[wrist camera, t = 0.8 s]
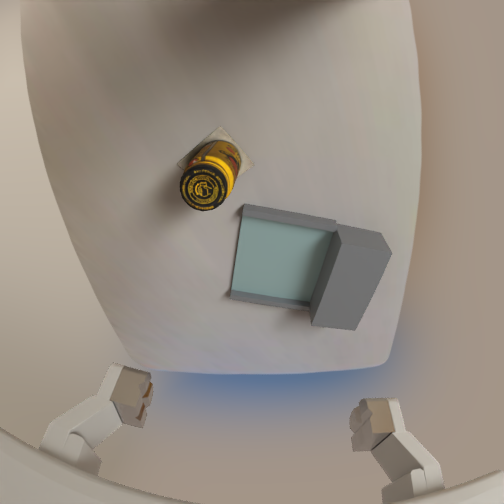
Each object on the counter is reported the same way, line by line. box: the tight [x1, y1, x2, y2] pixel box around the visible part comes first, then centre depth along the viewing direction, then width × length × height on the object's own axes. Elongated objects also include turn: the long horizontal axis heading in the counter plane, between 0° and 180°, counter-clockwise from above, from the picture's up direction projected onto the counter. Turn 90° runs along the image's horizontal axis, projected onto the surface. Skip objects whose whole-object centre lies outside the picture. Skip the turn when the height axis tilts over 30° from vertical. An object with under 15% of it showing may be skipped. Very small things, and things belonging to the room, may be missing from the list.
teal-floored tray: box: [230, 204, 392, 330], centre depth 47 cm, size 17×22×6 cm
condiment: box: [177, 126, 254, 211], centre depth 37 cm, size 7×8×12 cm
